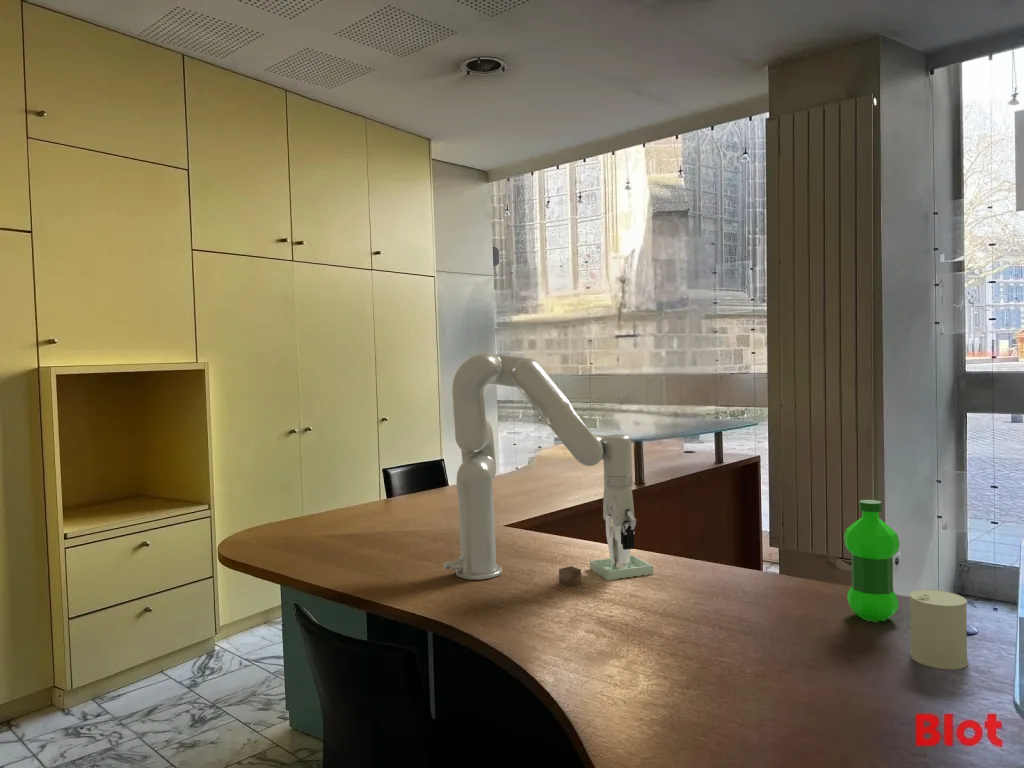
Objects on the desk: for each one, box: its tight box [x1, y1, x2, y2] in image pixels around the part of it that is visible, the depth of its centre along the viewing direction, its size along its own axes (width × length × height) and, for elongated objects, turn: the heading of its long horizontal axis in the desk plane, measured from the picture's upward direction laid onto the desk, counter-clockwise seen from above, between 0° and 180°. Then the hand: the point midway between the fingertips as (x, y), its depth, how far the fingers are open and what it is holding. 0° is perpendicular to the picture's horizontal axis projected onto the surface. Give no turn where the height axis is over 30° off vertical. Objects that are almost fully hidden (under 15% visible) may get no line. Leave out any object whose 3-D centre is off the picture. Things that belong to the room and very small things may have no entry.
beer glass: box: [605, 514, 632, 571], centre depth 196 cm, size 7×7×15 cm
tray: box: [589, 554, 654, 581], centre depth 196 cm, size 13×11×2 cm
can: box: [909, 589, 969, 671], centre depth 135 cm, size 9×9×12 cm
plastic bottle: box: [843, 499, 900, 622], centre depth 156 cm, size 10×10×25 cm
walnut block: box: [558, 565, 582, 589], centre depth 187 cm, size 4×4×4 cm
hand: (620, 544), depth 196 cm, fingers open, 9 cm apart
